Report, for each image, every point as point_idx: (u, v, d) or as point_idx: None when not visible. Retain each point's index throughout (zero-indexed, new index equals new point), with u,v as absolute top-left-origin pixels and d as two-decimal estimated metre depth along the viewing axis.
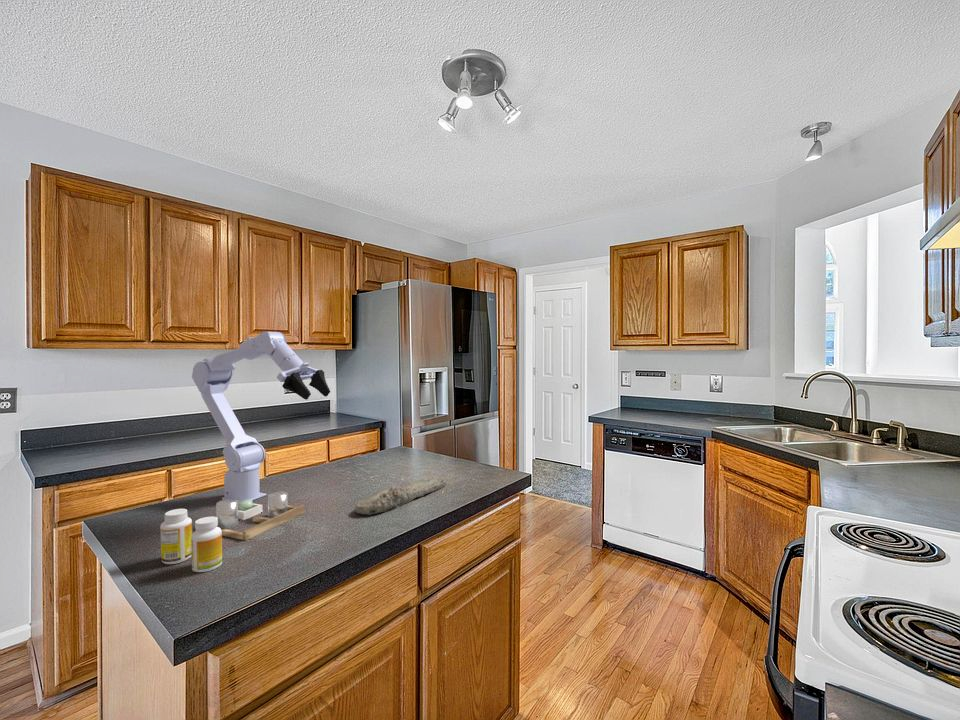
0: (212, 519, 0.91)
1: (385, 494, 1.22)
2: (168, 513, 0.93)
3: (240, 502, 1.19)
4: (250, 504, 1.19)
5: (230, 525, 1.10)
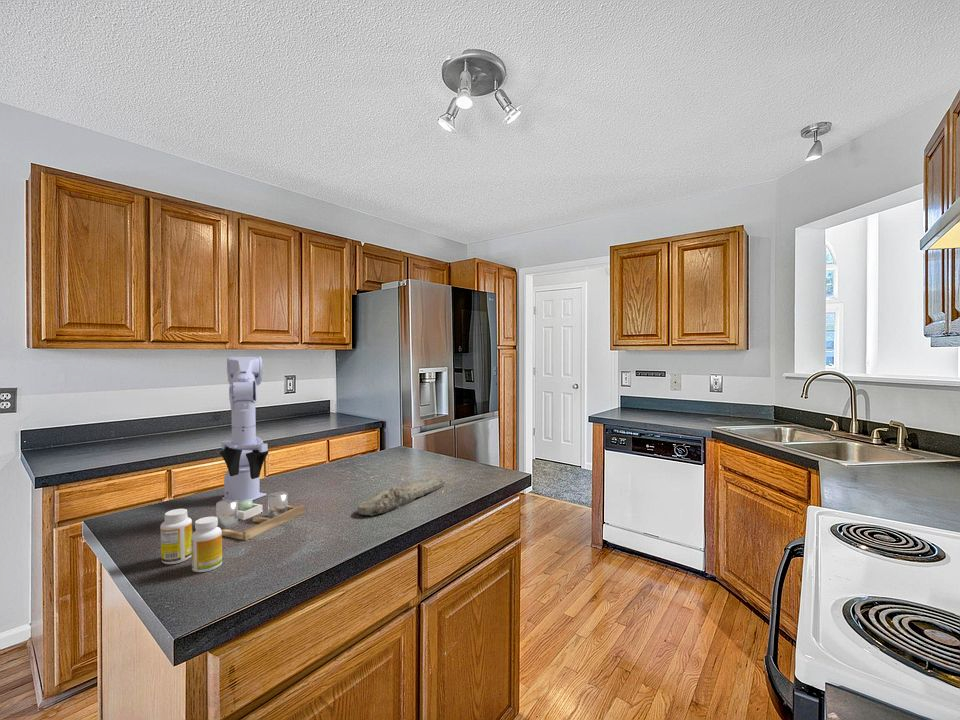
0: (212, 519, 0.91)
1: (387, 494, 1.22)
2: (168, 513, 0.93)
3: (240, 502, 1.19)
4: (250, 504, 1.19)
5: (230, 525, 1.10)
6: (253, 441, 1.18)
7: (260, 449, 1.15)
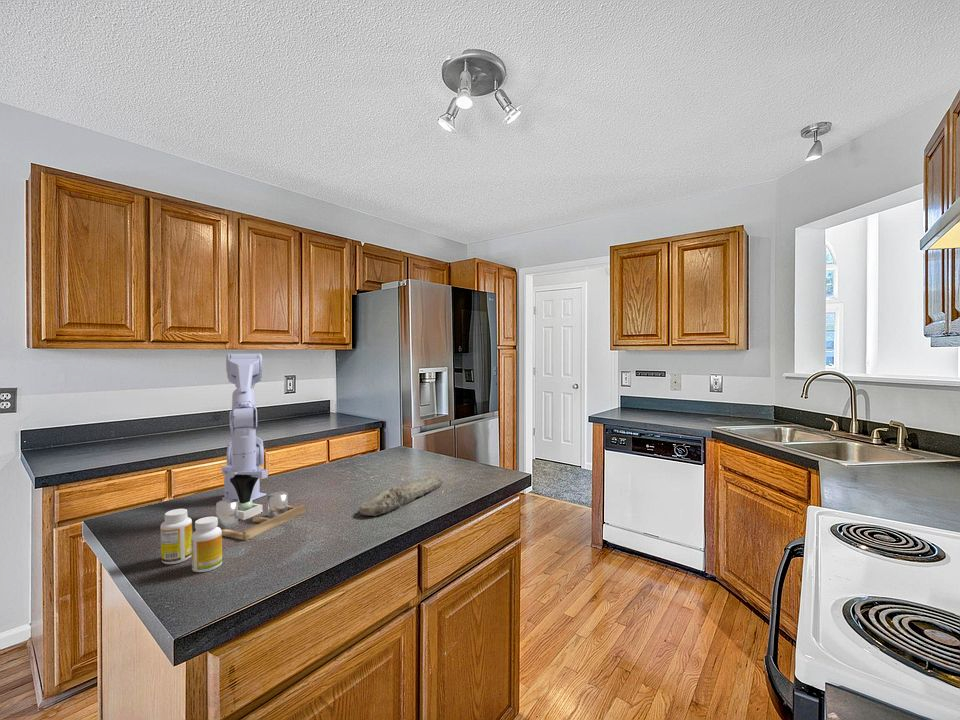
0: (212, 519, 0.91)
1: (389, 494, 1.22)
2: (168, 513, 0.93)
3: None
4: (250, 504, 1.19)
5: (230, 525, 1.10)
6: (253, 467, 1.18)
7: (260, 476, 1.16)
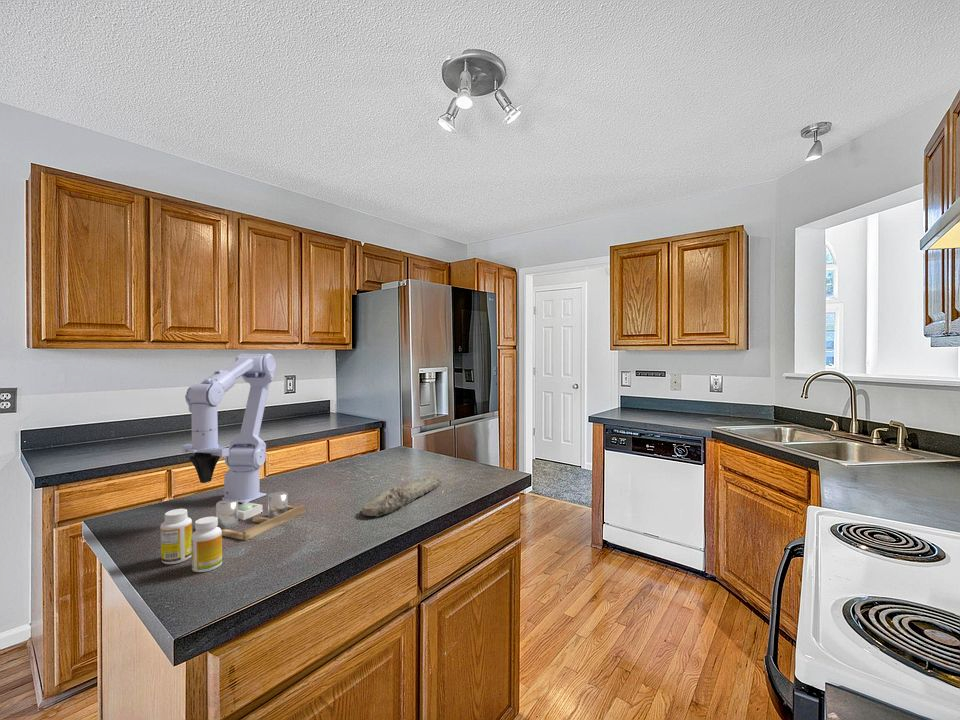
0: (212, 519, 0.91)
1: (391, 495, 1.22)
2: (168, 513, 0.93)
3: (241, 506, 1.19)
4: (250, 508, 1.19)
5: (230, 525, 1.10)
6: (214, 445, 1.14)
7: (221, 454, 1.11)
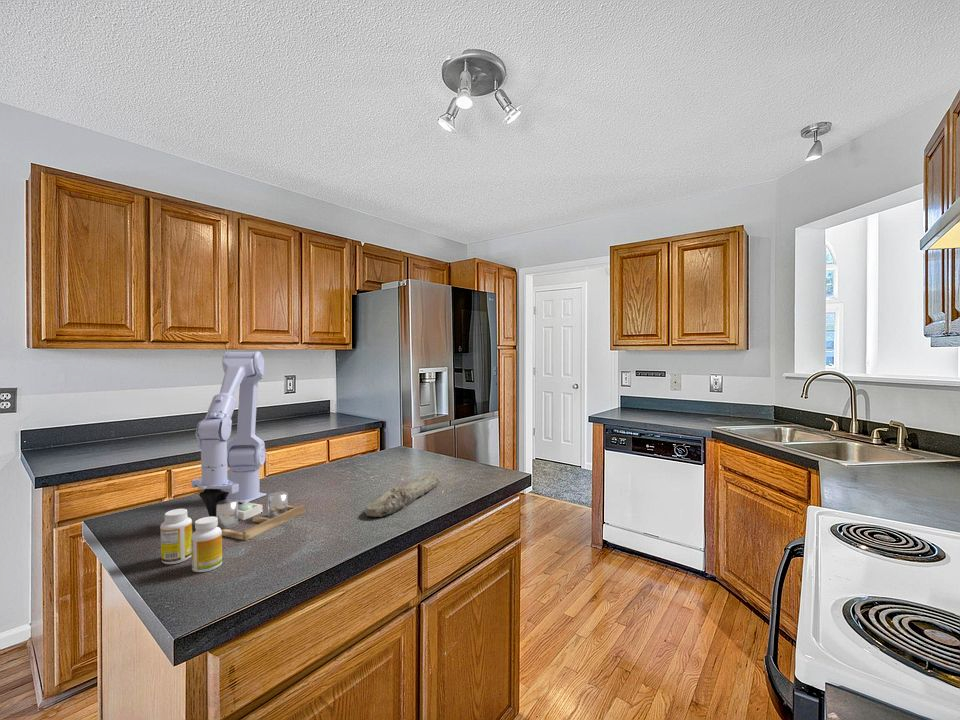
0: (212, 519, 0.91)
1: (393, 495, 1.22)
2: (168, 513, 0.93)
3: (241, 506, 1.19)
4: (250, 508, 1.19)
5: (230, 525, 1.10)
6: (224, 481, 1.13)
7: (230, 490, 1.10)
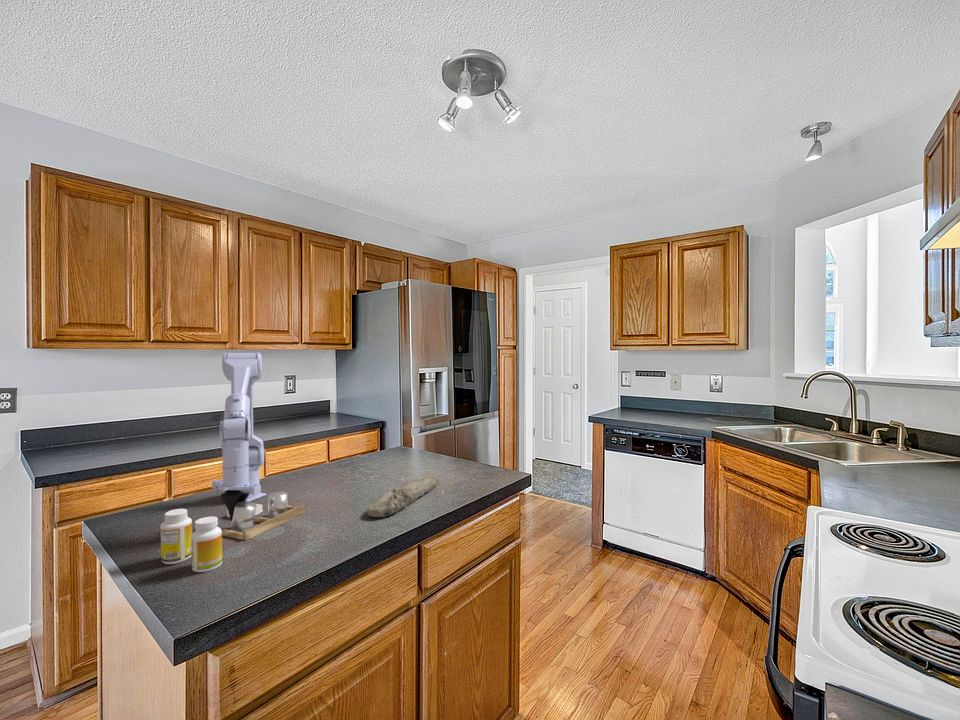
0: (212, 519, 0.91)
1: (395, 495, 1.21)
2: (168, 513, 0.93)
3: None
4: None
5: None
6: (245, 482, 1.10)
7: (253, 492, 1.07)
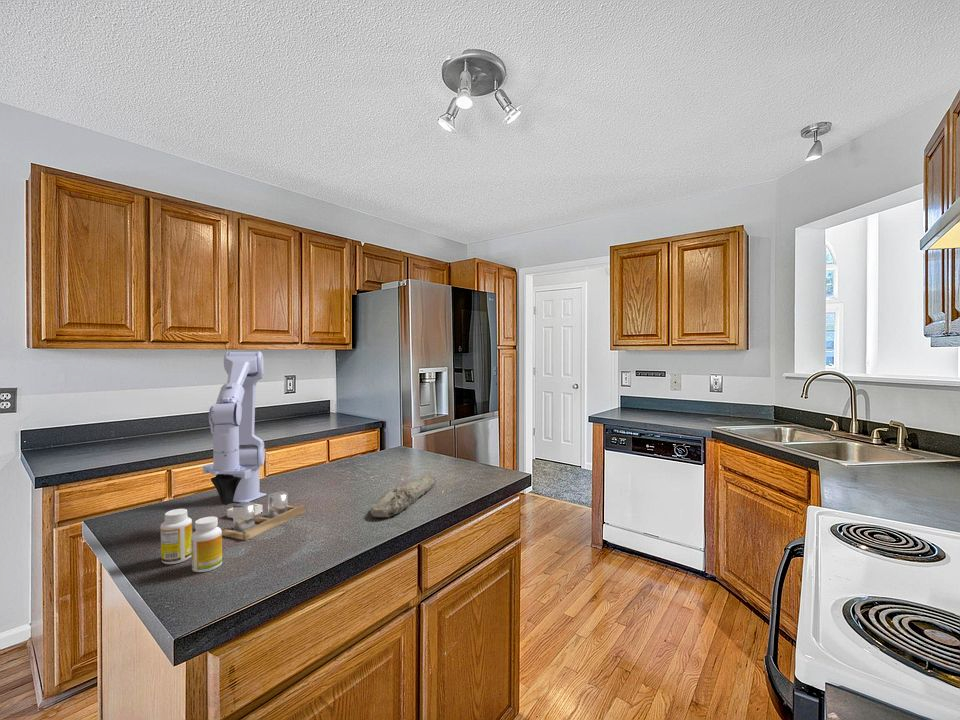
0: (212, 519, 0.91)
1: (399, 495, 1.21)
2: (168, 513, 0.93)
3: None
4: None
5: None
6: (236, 466, 1.11)
7: (243, 476, 1.08)
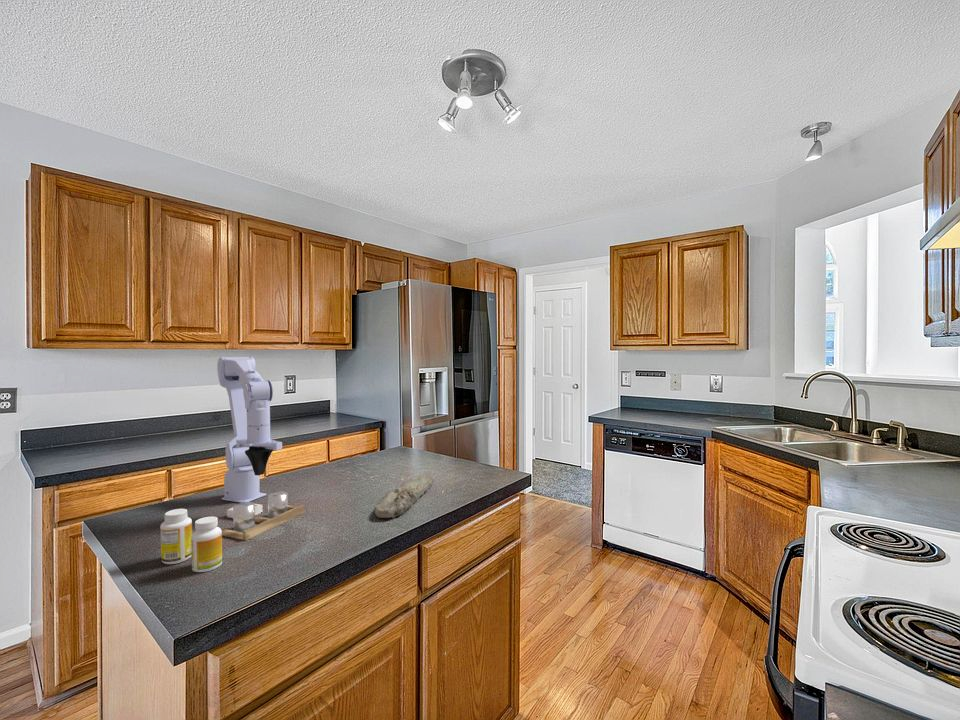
0: (212, 519, 0.91)
1: (402, 495, 1.21)
2: (168, 513, 0.93)
3: None
4: None
5: None
6: (268, 439, 1.20)
7: (275, 447, 1.17)
